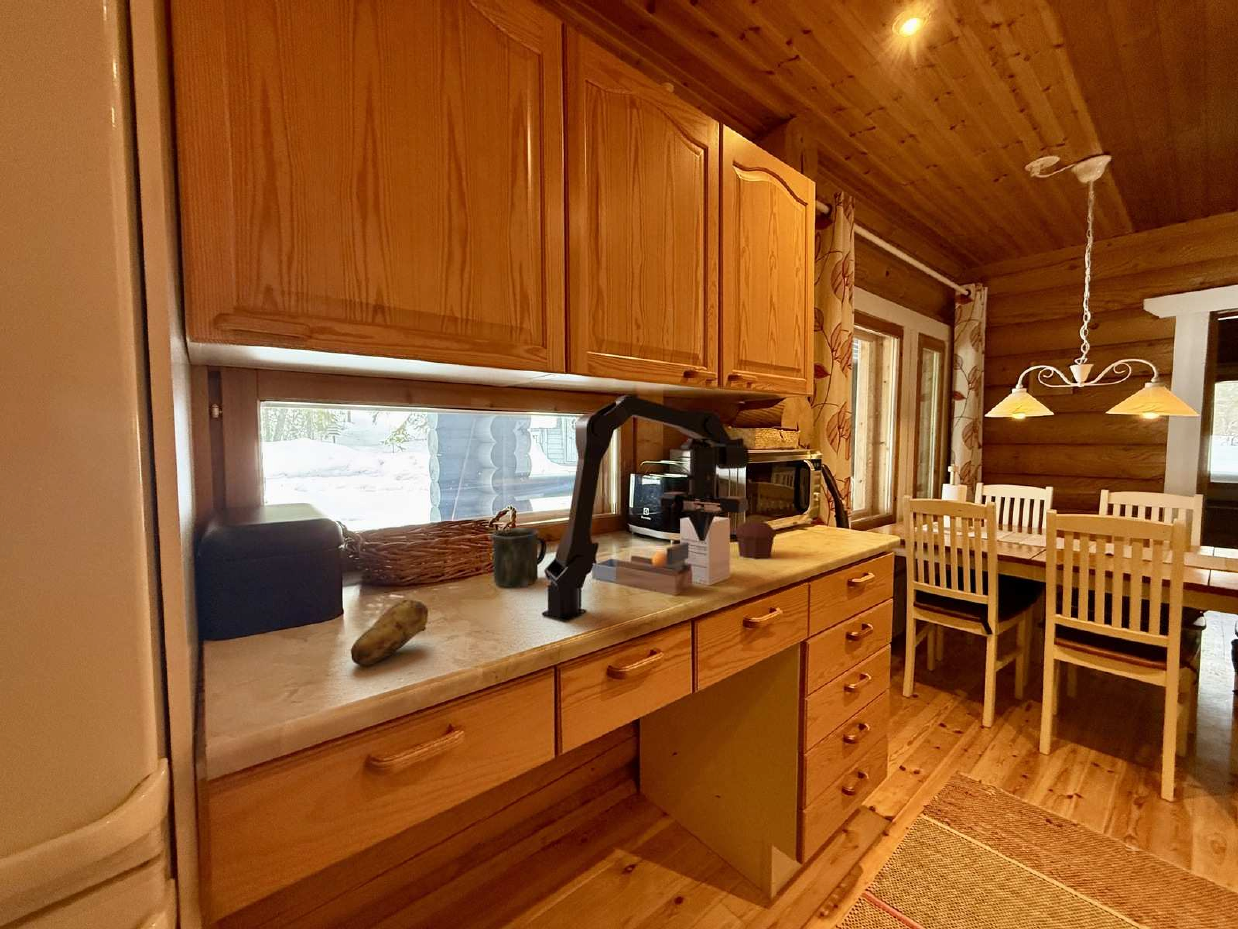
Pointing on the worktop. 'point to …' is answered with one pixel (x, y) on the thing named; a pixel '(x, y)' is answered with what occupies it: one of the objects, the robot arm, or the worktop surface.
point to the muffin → (755, 539)
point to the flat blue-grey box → (606, 570)
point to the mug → (516, 556)
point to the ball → (659, 560)
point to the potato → (390, 632)
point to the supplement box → (708, 551)
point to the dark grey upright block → (677, 556)
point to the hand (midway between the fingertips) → (702, 540)
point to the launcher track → (652, 576)
